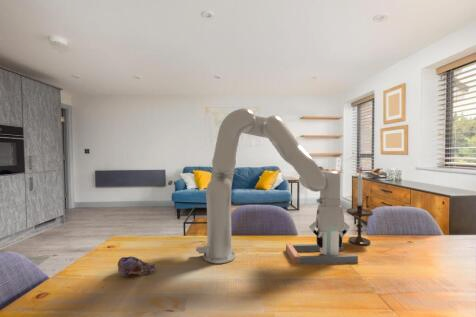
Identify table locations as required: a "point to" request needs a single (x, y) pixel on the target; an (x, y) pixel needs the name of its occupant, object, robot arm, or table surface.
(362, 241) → the candlestick
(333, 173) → the robot arm
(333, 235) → the can
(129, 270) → the skull
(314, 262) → the track
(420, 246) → the table surface
